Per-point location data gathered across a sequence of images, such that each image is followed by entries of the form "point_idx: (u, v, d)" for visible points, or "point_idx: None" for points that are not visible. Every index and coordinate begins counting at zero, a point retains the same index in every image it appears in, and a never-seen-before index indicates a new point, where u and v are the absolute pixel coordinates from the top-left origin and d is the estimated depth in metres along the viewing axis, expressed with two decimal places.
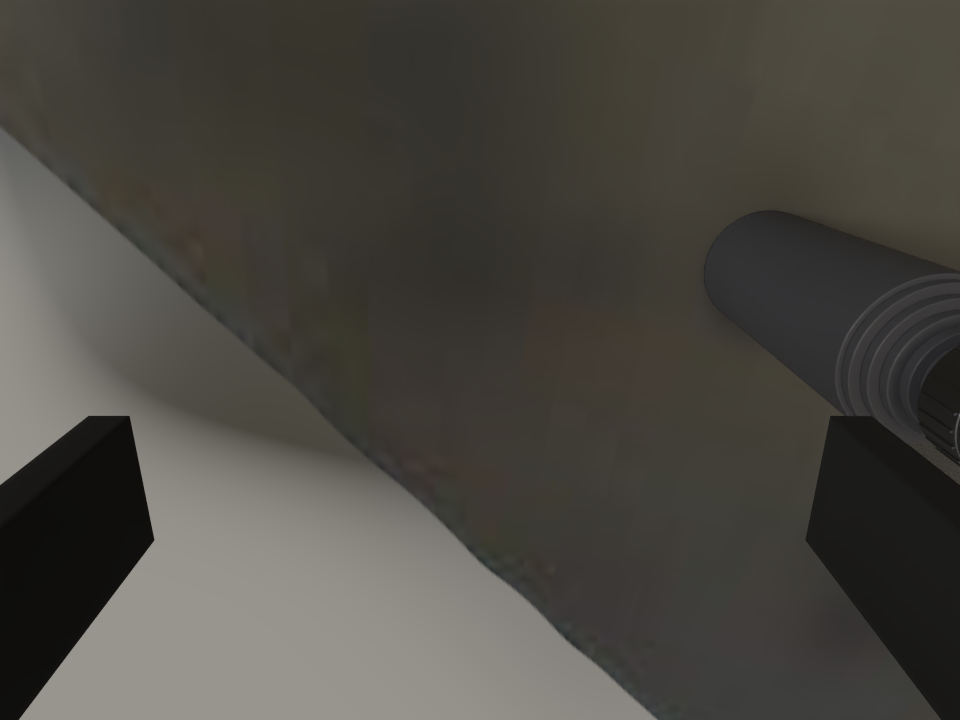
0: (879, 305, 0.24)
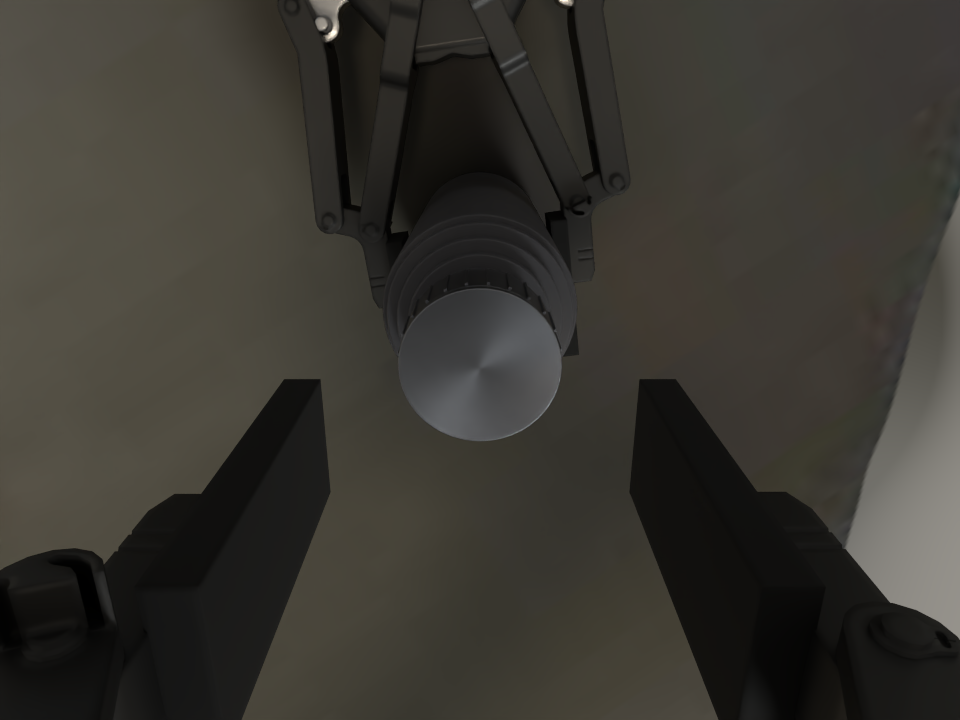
0: None
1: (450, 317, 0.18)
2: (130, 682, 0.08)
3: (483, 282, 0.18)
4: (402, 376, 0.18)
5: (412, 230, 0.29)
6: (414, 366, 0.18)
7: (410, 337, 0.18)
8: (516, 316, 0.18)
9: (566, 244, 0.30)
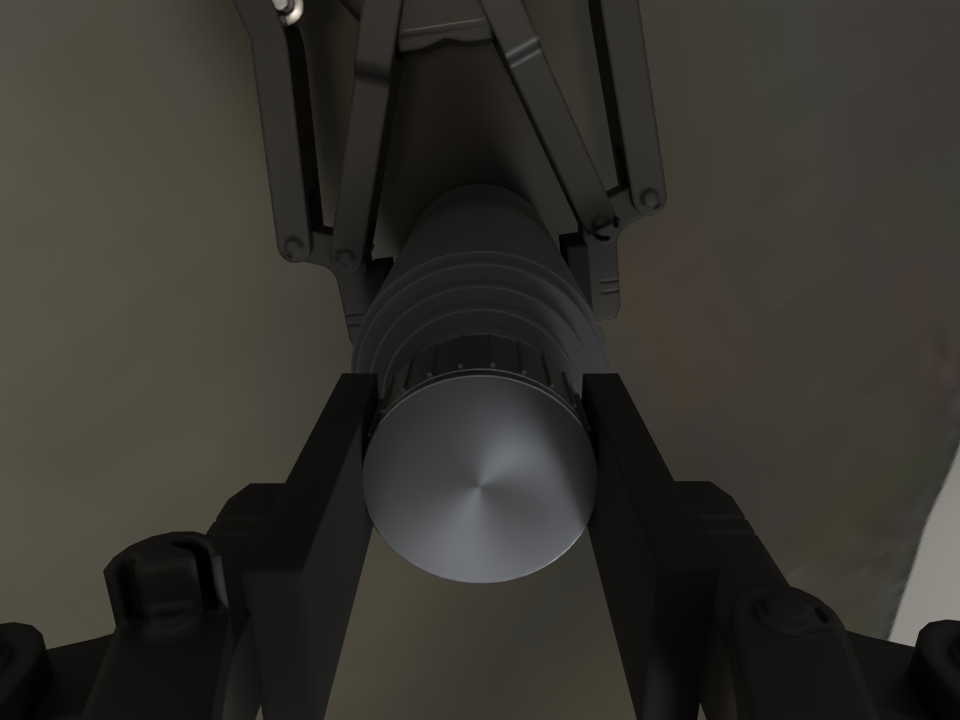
0: None
1: (436, 416, 0.12)
2: (238, 664, 0.08)
3: (485, 362, 0.12)
4: (368, 497, 0.13)
5: (396, 260, 0.23)
6: (384, 483, 0.13)
7: (378, 443, 0.12)
8: (534, 414, 0.12)
9: (586, 275, 0.25)
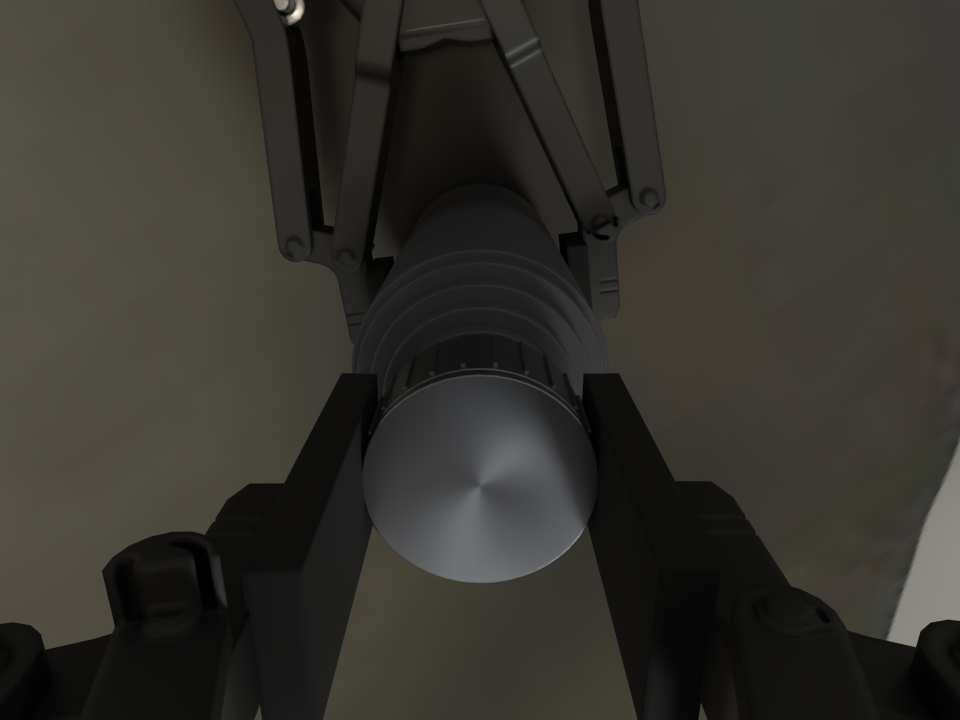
0: None
1: (417, 535, 0.13)
2: (237, 664, 0.08)
3: None
4: (517, 573, 0.13)
5: None
6: (499, 563, 0.13)
7: (459, 574, 0.13)
8: (390, 457, 0.12)
9: (586, 275, 0.25)
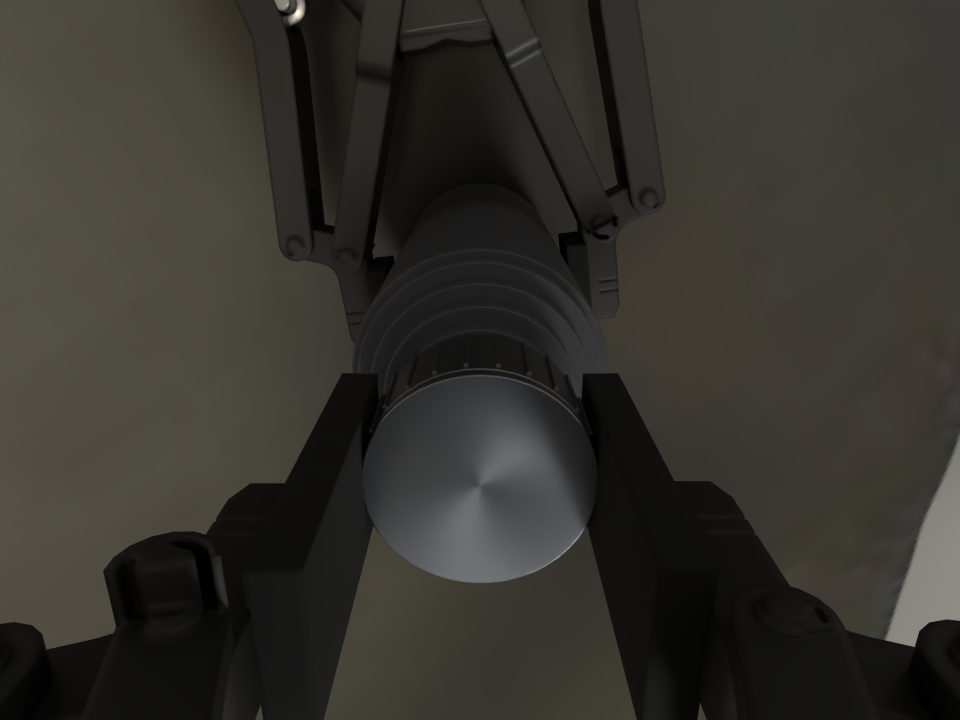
0: None
1: (550, 527, 0.13)
2: (238, 664, 0.08)
3: None
4: (577, 428, 0.12)
5: None
6: (567, 449, 0.12)
7: (590, 482, 0.13)
8: (470, 563, 0.13)
9: (586, 274, 0.25)
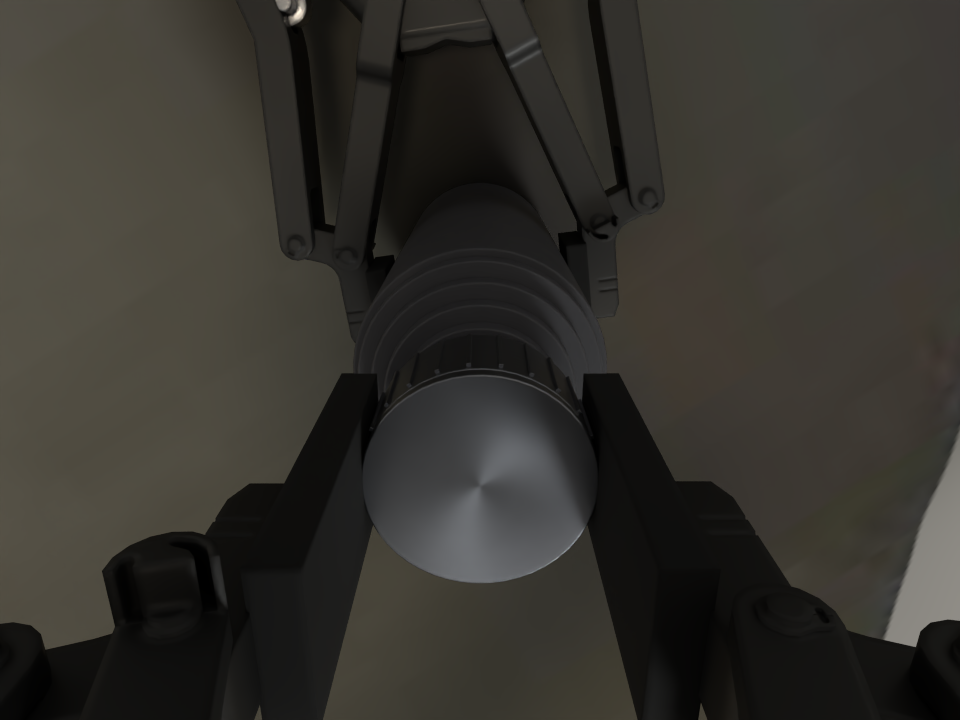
0: None
1: (512, 411, 0.12)
2: (237, 665, 0.08)
3: (573, 404, 0.13)
4: (392, 416, 0.12)
5: (397, 257, 0.24)
6: (417, 419, 0.12)
7: (448, 388, 0.12)
8: (573, 474, 0.13)
9: (585, 273, 0.25)
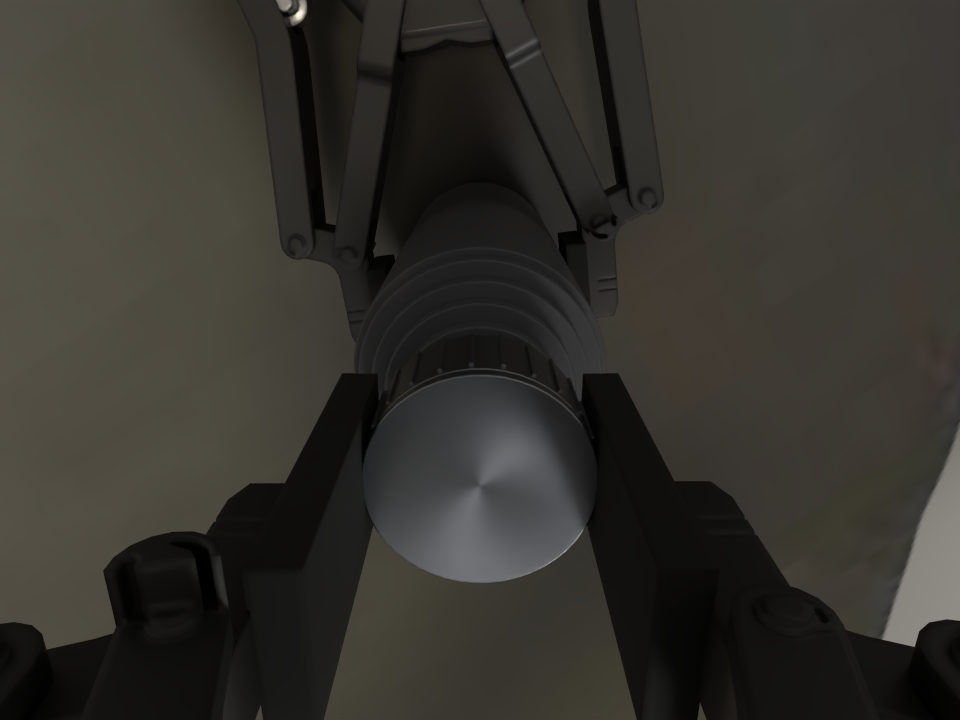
0: None
1: (392, 476, 0.13)
2: (238, 664, 0.08)
3: (386, 405, 0.13)
4: (428, 568, 0.13)
5: (397, 257, 0.24)
6: (425, 549, 0.13)
7: (387, 531, 0.13)
8: (444, 405, 0.12)
9: (585, 273, 0.25)
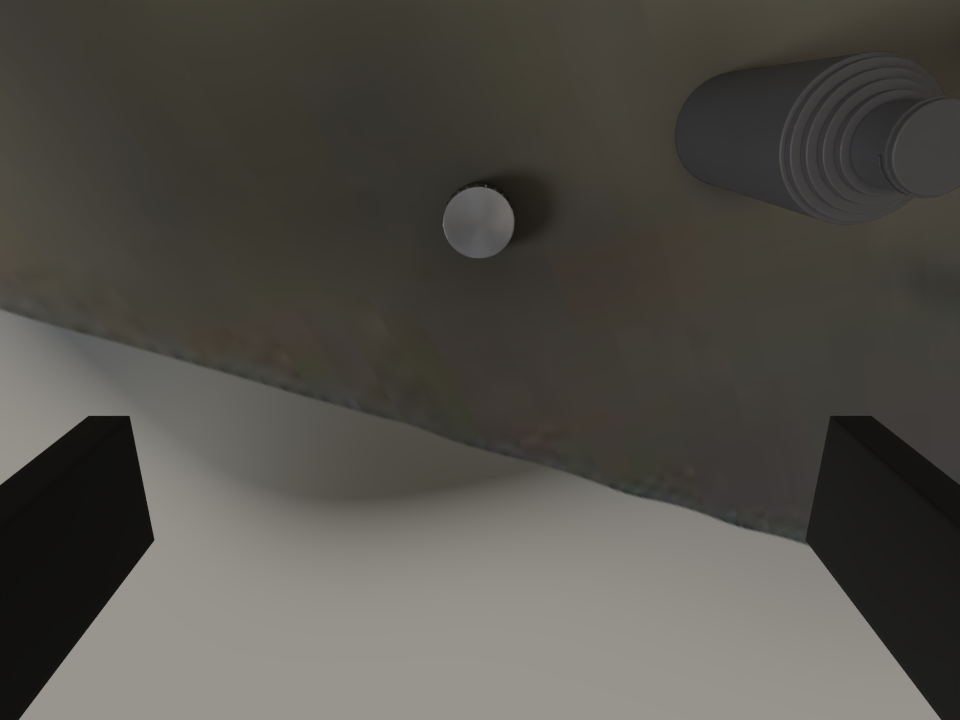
0: (792, 120, 0.27)
1: (452, 220, 0.42)
2: None
3: (450, 199, 0.42)
4: (463, 253, 0.43)
5: None
6: (462, 246, 0.43)
7: (450, 239, 0.42)
8: (468, 196, 0.42)
9: None
